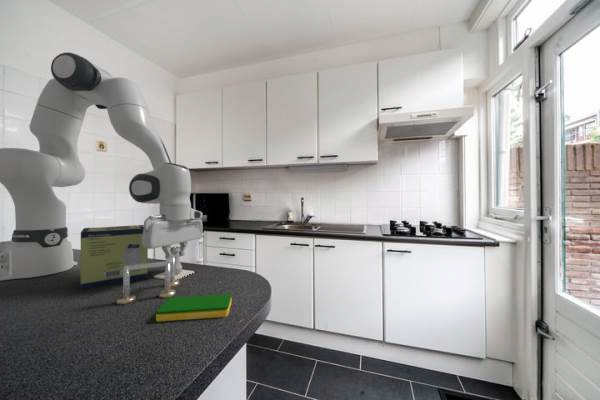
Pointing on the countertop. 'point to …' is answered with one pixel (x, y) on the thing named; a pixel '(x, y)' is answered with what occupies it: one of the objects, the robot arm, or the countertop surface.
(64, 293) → the countertop surface
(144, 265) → the angled post rail
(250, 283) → the countertop surface
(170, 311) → the dish sponge
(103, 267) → the protein box
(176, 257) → the rook chess piece
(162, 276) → the coaster pad
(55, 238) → the robot arm
